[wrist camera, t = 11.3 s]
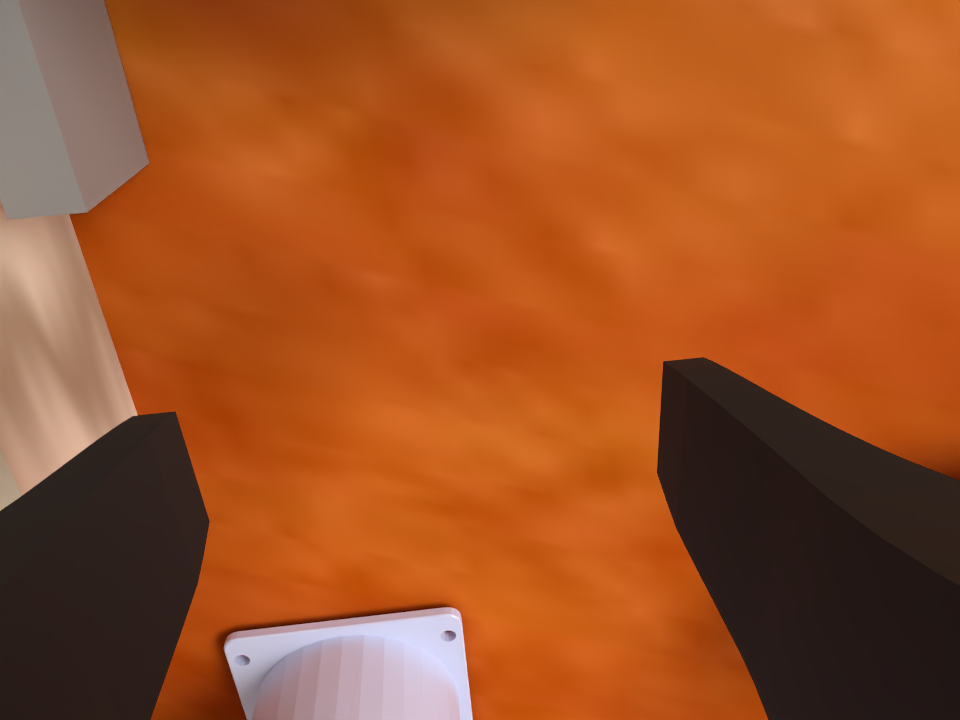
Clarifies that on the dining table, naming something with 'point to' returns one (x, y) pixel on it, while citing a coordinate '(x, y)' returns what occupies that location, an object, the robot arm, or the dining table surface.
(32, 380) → the birch rail
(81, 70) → the grey stepped block
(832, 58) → the dining table surface
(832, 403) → the dining table surface
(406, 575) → the dining table surface
